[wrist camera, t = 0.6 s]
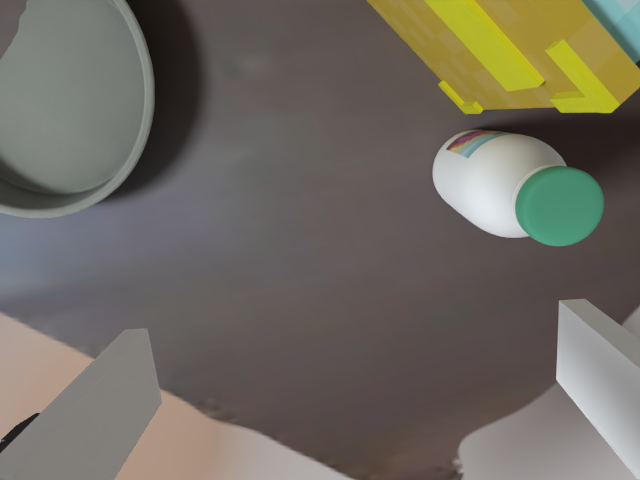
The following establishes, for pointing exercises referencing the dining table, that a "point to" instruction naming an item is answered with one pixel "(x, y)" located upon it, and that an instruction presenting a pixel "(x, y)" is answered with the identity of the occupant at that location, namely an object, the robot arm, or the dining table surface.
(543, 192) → the milk bottle
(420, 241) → the dining table surface
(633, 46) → the book
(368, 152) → the dining table surface
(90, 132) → the cake pan
